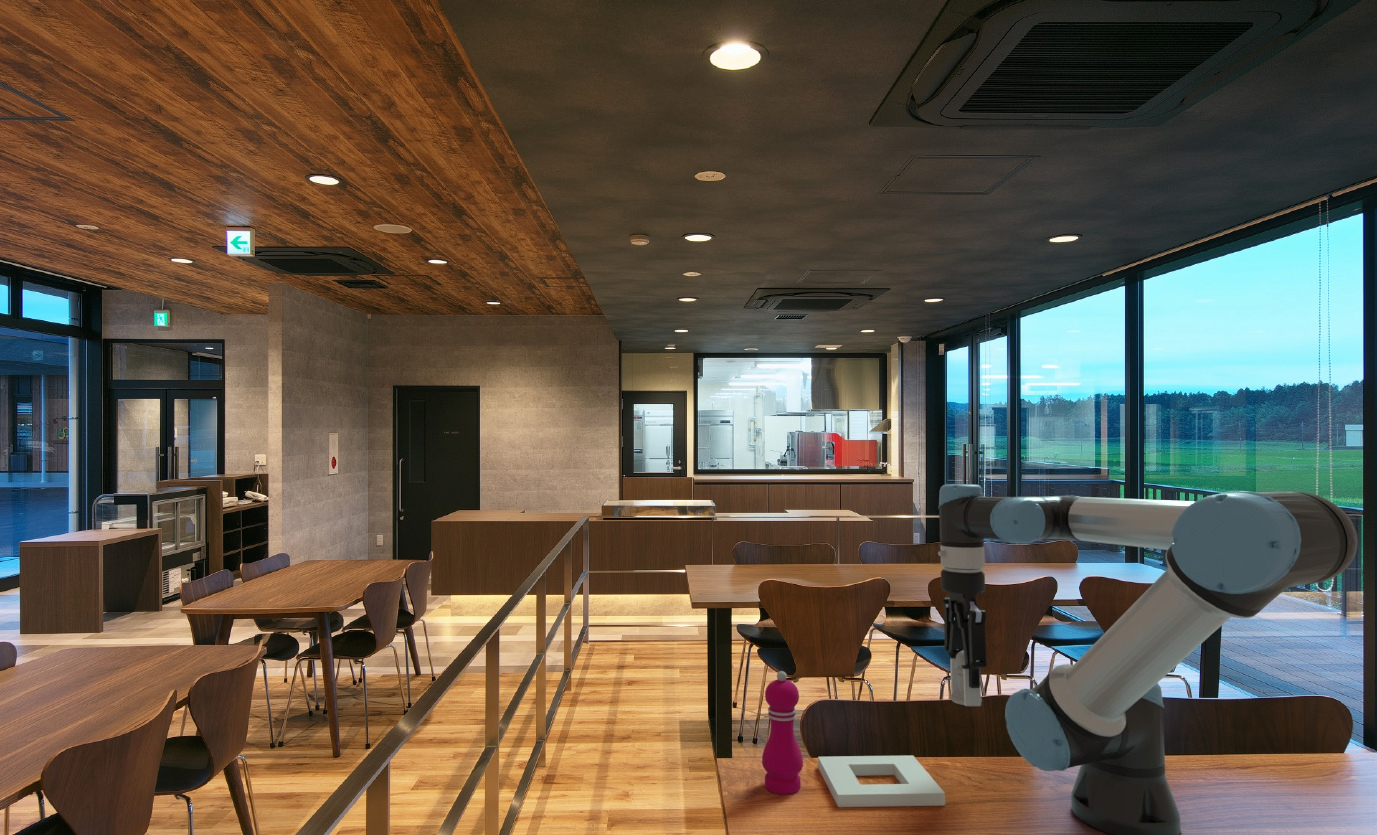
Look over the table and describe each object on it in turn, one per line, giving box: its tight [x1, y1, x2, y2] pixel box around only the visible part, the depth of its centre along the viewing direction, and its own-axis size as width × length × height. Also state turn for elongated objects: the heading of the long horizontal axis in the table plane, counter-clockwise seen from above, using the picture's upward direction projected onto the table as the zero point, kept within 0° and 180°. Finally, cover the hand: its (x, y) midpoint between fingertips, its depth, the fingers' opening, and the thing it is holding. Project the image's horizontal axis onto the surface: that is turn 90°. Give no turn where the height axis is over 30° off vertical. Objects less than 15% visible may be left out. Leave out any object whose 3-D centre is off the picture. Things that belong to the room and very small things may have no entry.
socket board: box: [817, 755, 946, 808], centre depth 132 cm, size 18×16×2 cm
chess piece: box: [949, 651, 983, 706], centre depth 134 cm, size 5×5×9 cm
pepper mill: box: [761, 670, 804, 795], centre depth 132 cm, size 7×7×20 cm
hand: (965, 699), depth 134 cm, fingers closed on chess piece, 5 cm apart
